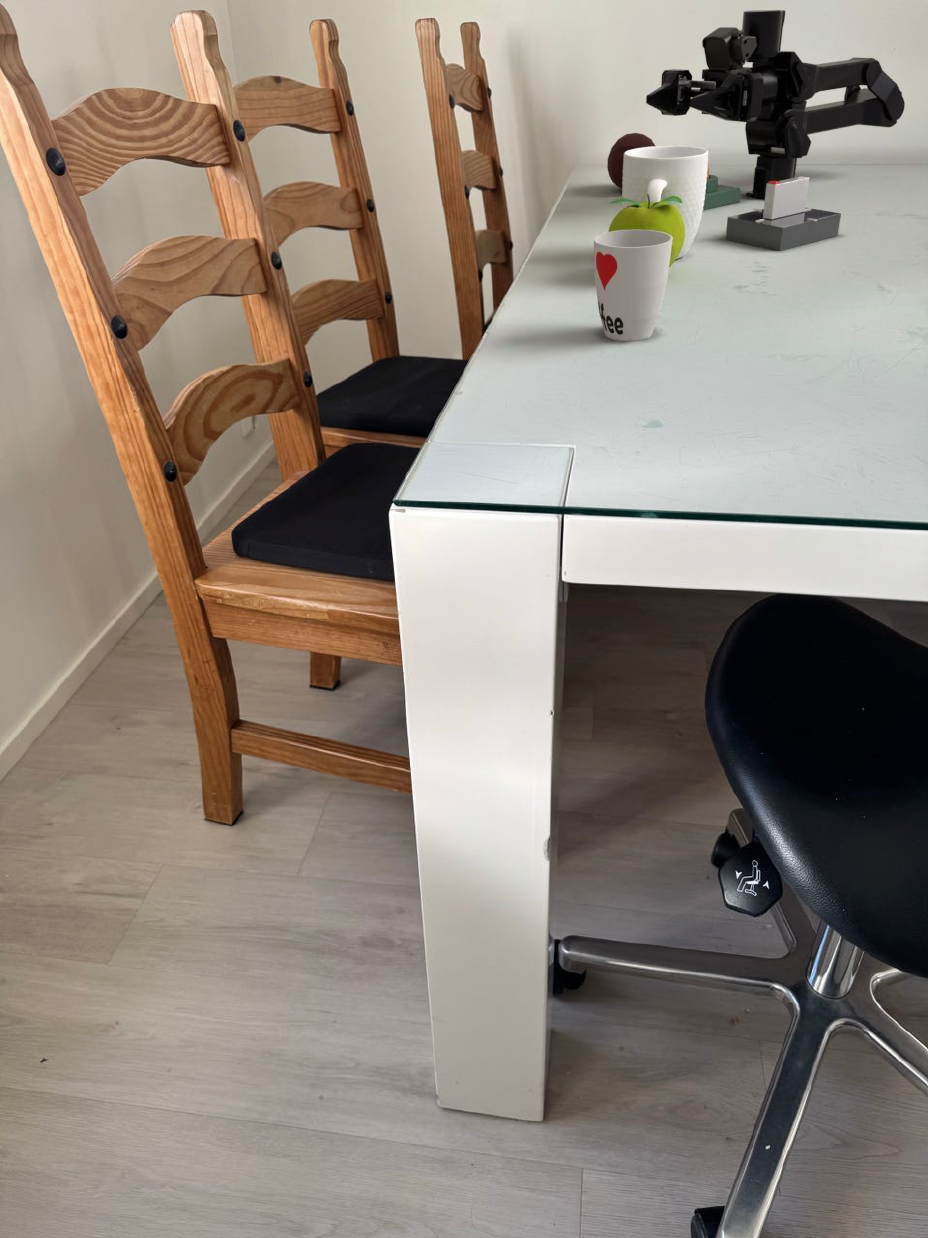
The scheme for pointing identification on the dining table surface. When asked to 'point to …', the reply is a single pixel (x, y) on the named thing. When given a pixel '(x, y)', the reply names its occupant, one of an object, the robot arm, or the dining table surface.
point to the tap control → (719, 194)
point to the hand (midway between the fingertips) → (668, 100)
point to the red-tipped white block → (785, 197)
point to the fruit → (652, 220)
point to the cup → (631, 281)
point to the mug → (668, 181)
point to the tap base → (783, 228)
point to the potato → (618, 152)
